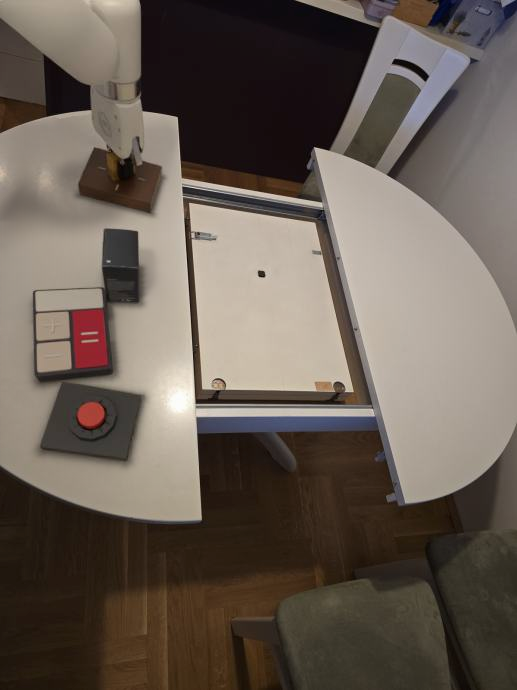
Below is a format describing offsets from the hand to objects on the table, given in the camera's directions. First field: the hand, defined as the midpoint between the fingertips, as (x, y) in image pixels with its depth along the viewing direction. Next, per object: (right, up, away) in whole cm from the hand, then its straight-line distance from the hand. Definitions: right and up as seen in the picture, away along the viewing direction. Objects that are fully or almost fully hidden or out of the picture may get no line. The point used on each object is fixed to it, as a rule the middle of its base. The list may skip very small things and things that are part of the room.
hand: (121, 171), depth 79 cm
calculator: (-3, -34, -13) cm, 37 cm away
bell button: (+3, -46, -21) cm, 51 cm away
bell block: (+2, -47, -18) cm, 51 cm away
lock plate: (-1, -2, +3) cm, 4 cm away
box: (+3, -24, -6) cm, 25 cm away
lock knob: (0, 0, +1) cm, 1 cm away
